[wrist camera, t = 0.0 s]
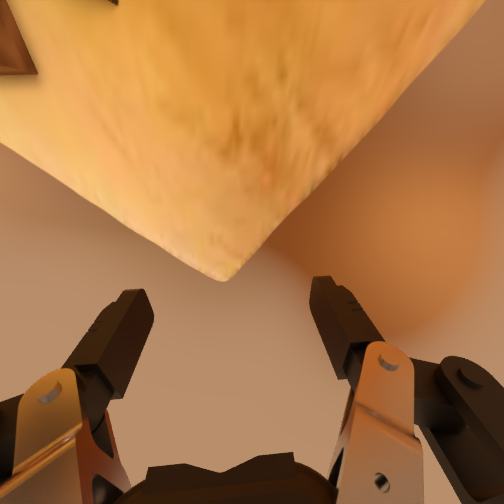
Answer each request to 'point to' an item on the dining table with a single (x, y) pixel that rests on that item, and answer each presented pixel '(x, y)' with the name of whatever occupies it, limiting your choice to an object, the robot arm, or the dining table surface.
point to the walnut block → (12, 46)
